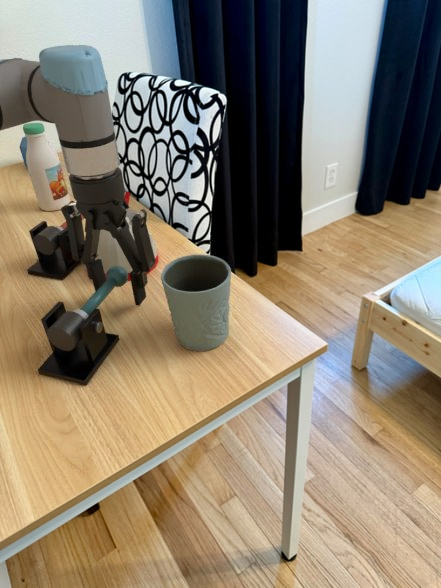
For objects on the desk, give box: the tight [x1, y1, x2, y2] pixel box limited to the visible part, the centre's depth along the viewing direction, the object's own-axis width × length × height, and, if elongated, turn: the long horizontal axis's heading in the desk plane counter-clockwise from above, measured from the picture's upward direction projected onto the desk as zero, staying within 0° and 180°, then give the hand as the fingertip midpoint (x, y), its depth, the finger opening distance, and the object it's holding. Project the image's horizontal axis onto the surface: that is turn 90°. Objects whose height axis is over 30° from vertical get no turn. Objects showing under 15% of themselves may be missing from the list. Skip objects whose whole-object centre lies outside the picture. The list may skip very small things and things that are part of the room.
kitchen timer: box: [95, 191, 159, 282], centre depth 83 cm, size 14×14×15 cm
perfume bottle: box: [19, 123, 51, 168], centre depth 131 cm, size 6×6×12 cm
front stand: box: [37, 300, 120, 386], centre depth 64 cm, size 10×8×8 cm
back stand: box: [26, 220, 83, 281], centre depth 85 cm, size 10×8×8 cm
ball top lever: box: [46, 266, 128, 351], centre depth 67 cm, size 18×4×4 cm, turn 162°
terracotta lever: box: [32, 215, 85, 255], centre depth 89 cm, size 18×4×4 cm, turn 162°
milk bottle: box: [22, 122, 71, 212], centre depth 105 cm, size 8×8×20 cm
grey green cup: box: [160, 253, 232, 352], centre depth 66 cm, size 10×10×12 cm
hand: (121, 297), depth 75 cm, fingers open, 7 cm apart
